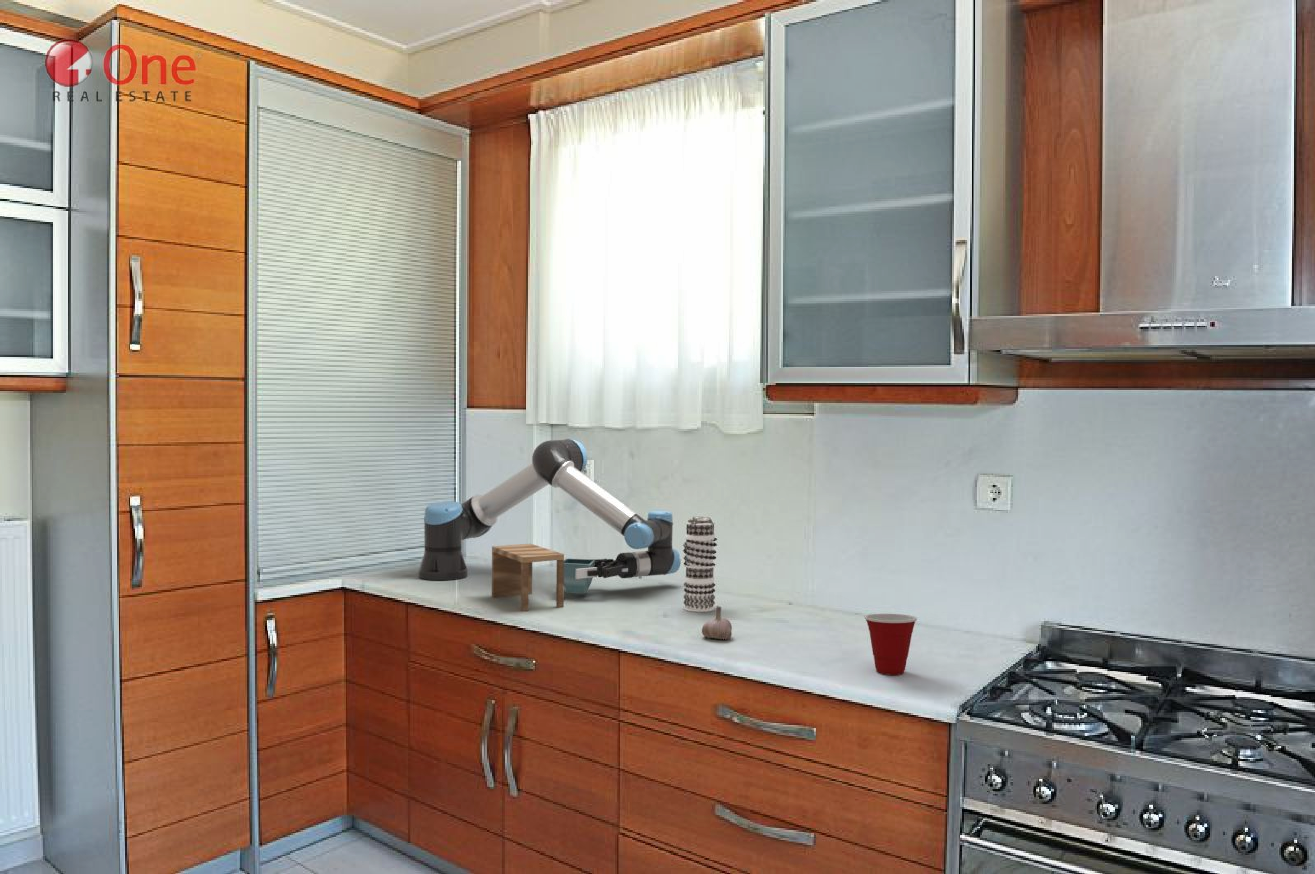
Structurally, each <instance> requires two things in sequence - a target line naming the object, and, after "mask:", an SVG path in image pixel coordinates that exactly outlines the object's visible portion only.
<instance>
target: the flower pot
mask: <svg viewBox="0 0 1315 874" xmlns="http://www.w3.org/2000/svg"><path fill="white" fill-rule="evenodd" d="M594 566H595V560H591V559H590V558H589V559H587V558H586V559H584V558H564V590H565V591H566V593H568V594H585V593H587V591H588V590H589V588H590V586H591V584H592V581H593V578H594V577H592V578H581V579H575V569H581V568H593V567H594Z"/></svg>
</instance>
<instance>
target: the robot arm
mask: <svg viewBox="0 0 1315 874" xmlns="http://www.w3.org/2000/svg"><path fill="white" fill-rule="evenodd" d="M531 457H532V458H531V462H532V463H530V464H529V465H527V466H526V467H524V468H523V469H521V470H519V471H518V472H517V473H514V474H513V475H512V476H510V477H509V478H508V479H506V480H504V481H503V482H501V483H500V484H498V485H497V486H495V487H494V488H492V489H491V490H489V491H487V492H486V493H484V494H483V495H482V494H475V495H473V496H472V497H470V498H468V499H467V500H466V501H464V502H462V503H460V502H459V501H442V502H441V501H440V502H434V503H431V504H429V505H428V506H426V507H425V509H424V518H423V521H424V553H423V557H422V559H421V561H420V566H419V568H418V578H420V579H422V580H426V581H427V580H429V581H453V580H459V579H460V580H461V579H464V578H466V577H467V576H468V567H467V563H466V561H465V558H464V555H463V552H462V548H463V547H462V546H463V545H462V544H463V543H462V542H463V541H464V540H468V539H475V538H479V537H482V536H484V535H486V534H487V533H488V532H489V531H490V530H491V529H492V527H493V526H494V525H496V524H497V520H498V517H500V516H501V515H504V514H505V513H506V512H509V510H511V509H512V508H514V507H515V506H517V505H519V504H520V503H522V502H524V501H525V500H526V499H528V498H530V497H532V496H533V495H534V494H536V493H537V492H539V491H541V490H542V489H544V488H545V487H547V486H548V485H549V486H551V487H553V488H555V489H556V488H560V490H562V491H563V492H565V493H566V494H568V495H569V496H570V497H571V498H573V499H574V500H575V501H577V502H578V503H579V504H581V505H582V506H583V507H585V508H586V509H587V510H589V511H590V512H591V513H592V514H594V515H595V516H597V517H598V518H599V519H600V520H602V521H603V522H604V523H606V524H607V525H609V527H611V528H613V530H615V531H616V532H618V534H620V535H622V536H623V537H624V541H625V543H626V544H627V546H628V547H630V548H631V549H634V550H640V551H632V552H631V551H630V552H620V553H619V554H617V555H616V558H615V560H614V559H613V558H600V559H598V558H595V559H591V560H595V566H594V567H593V568H581V569H575V579H581V578H592V577H593V578H603V579H607V578H611V577H619V578H620V579H632V578H638V579H642V578H643V577H652V576H662V575H663V576H666V575H670V574H675V573H678V571H679V569H680V567H681V563H682V562H681V561H682V560H681V558H680V553H679V552H678V550H676V549H675V548H673V525H674V522H673V514H672V512H671V511H669V510H650V511H649V512H648V515H647V520H645V519H644V518H643V517H642V516H640V515H639V514H638V513H637V512H635V511H633V509H631V508H630V507H628V506H627V505H626V504H624V503H623V502H622V501H620V500H619V499H618V498H617V497H615V496H613V495H612V494H611V493H609V492H608V491H607V490H606V489H604V488H603V486H600V485H599V484H597V483H596V482H595V481H594V480H592V479H590V478H589V477H588V476H587V475H585V474H584V473H583V472H584V470H585V469H586V467H587V465H588V452H587V450H586V448H585V447H584V445H583V444H582V443H581V442H579V441H578V440H575V439H571V438H566V439H553V440H552V439H551V440H545V441H543V442H541V443H540V444H539V445H537V446H536V448H535V449H534V451H533V453H532V456H531ZM642 549H647V550H642Z"/></svg>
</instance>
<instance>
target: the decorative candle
mask: <svg viewBox="0 0 1315 874" xmlns="http://www.w3.org/2000/svg"><path fill="white" fill-rule="evenodd" d="M685 524H686V530H685V531H686V533H685V542H683V545H682V546H683V547H684V549H682V551H683V553H684V554H685V555H684V556H683V560H684V562H683V566H684V567H685V577H684V581H685V582H684V583H683V586H684V587H685V588H684V589H683V591H684V593H685V594H684V595H683V599H684V600H683V602H682V603H683V604H684V606H683V609H684V610H686V611H688V612H696V613H697V612H698V613H705V612H712V611H715V609H716V607H715V604H716V601H715V599H716V596H715V595H714V593H715V592H716V589H715V588H714V587H715V586H716V583H714V582H715V577H714V568H715V567H716V563H714V560H716V559H717V557H716V556H715V554H716V553H717V551H716V549H714V547H716V546H718V543H716V541H717V540H718V538H716V537H715V522H713V520H712V519H711V518H710V517H708V516H691V517H690V518H689V517H688V520H687V521H686V522H685Z"/></svg>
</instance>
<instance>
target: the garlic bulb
mask: <svg viewBox="0 0 1315 874" xmlns="http://www.w3.org/2000/svg"><path fill="white" fill-rule="evenodd" d="M715 609H716V611H715V618H713V619H712V620H708V621H706V622H705V623H704V624H703V626H702V629H701V634H702V636H703V637H704V638H706V637H707V639H710V638H715V639H714V640H722V639H723V640H724V639H725V640H724V641H729V640H730V639H731V638H732V634H733V633H732V630H733V626H732V623H731V622H730V620H729V619H728V618H724V617H722V612H721V611H722V607H721V606H720V605H716V607H715Z"/></svg>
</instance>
